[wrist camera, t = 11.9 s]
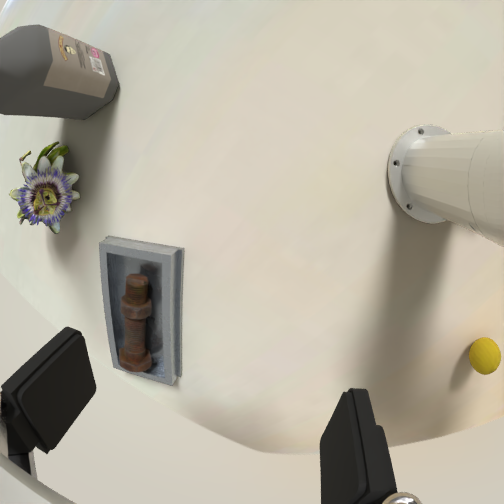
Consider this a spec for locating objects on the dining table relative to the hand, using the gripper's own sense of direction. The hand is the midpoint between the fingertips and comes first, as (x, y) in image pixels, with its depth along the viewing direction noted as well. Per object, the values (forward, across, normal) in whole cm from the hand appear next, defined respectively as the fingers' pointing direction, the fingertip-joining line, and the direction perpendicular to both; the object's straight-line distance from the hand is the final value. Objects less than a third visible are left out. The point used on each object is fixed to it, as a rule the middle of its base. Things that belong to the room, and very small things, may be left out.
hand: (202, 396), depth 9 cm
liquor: (+28, +27, -17) cm, 43 cm away
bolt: (+28, +16, +16) cm, 36 cm away
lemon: (+29, -39, +14) cm, 50 cm away
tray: (+28, +16, +16) cm, 36 cm away
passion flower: (+28, +32, -2) cm, 43 cm away
